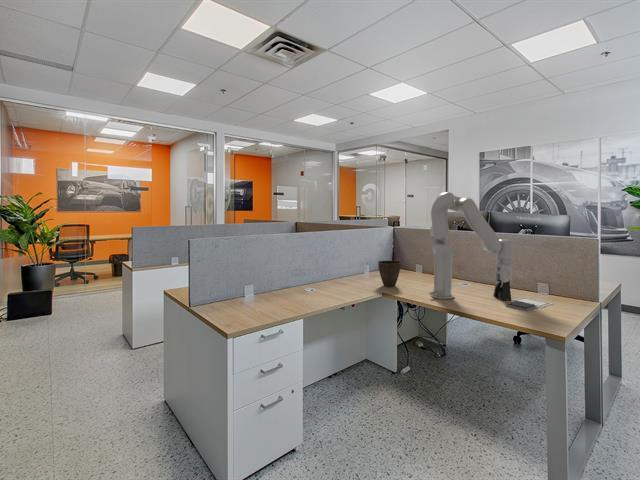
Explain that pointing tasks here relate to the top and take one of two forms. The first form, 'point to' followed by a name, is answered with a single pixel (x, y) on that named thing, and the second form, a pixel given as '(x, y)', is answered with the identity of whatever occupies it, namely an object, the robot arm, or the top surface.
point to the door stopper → (505, 294)
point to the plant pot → (389, 272)
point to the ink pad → (521, 305)
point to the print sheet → (533, 302)
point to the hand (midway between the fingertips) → (502, 292)
